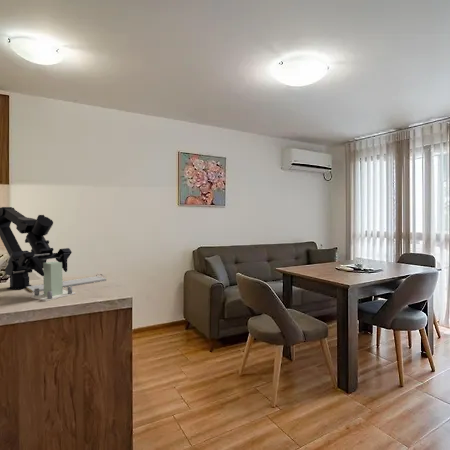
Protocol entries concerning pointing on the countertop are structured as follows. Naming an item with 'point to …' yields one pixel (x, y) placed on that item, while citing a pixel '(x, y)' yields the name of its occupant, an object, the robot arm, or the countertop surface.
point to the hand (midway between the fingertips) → (55, 273)
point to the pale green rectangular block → (53, 278)
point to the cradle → (49, 294)
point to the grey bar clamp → (71, 282)
